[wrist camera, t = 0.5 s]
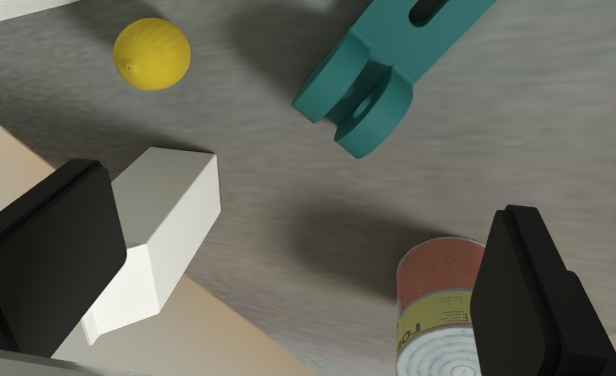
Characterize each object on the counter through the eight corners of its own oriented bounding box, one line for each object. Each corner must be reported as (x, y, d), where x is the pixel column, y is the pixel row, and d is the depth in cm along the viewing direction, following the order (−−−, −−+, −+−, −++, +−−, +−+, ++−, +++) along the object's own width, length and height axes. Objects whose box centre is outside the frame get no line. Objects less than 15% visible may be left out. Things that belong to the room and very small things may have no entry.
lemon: (133, 22, 40) (79, 44, 33) (186, 1, 38) (140, 18, 31) (164, 81, 42) (119, 112, 35) (214, 63, 40) (177, 92, 34)
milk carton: (217, 152, 45) (117, 281, 29) (221, 211, 49) (135, 354, 33) (150, 145, 46) (18, 266, 30) (160, 203, 50) (46, 338, 34)
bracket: (358, 131, 42) (351, 171, 35) (302, 84, 40) (283, 117, 34) (522, -37, 33) (554, -26, 26) (457, -104, 31) (473, -111, 25)
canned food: (382, 249, 48) (378, 338, 38) (492, 225, 44) (521, 316, 34) (413, 323, 53) (416, 419, 42) (515, 307, 49) (546, 408, 39)
